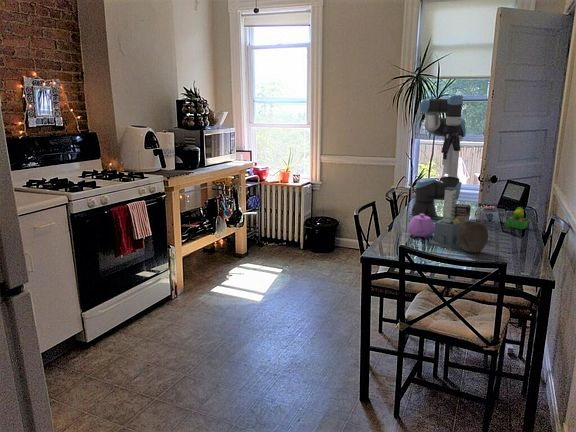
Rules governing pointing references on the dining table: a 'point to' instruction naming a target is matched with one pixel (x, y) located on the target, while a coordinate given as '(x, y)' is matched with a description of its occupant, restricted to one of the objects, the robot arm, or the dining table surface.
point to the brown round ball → (472, 236)
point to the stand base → (446, 234)
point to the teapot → (421, 226)
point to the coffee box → (462, 213)
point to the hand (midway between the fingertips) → (449, 163)
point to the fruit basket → (517, 219)
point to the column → (449, 205)
